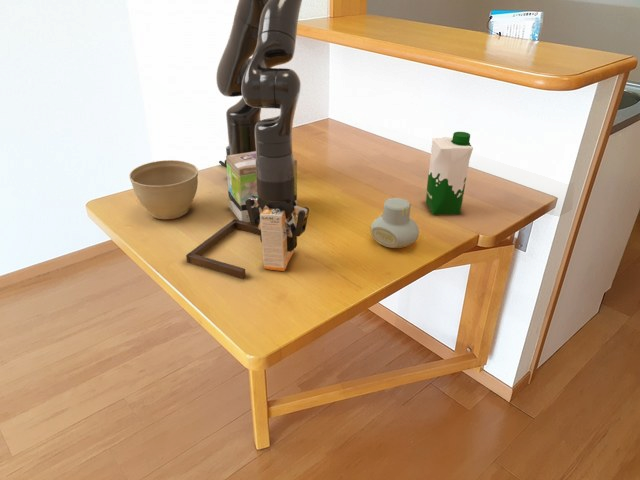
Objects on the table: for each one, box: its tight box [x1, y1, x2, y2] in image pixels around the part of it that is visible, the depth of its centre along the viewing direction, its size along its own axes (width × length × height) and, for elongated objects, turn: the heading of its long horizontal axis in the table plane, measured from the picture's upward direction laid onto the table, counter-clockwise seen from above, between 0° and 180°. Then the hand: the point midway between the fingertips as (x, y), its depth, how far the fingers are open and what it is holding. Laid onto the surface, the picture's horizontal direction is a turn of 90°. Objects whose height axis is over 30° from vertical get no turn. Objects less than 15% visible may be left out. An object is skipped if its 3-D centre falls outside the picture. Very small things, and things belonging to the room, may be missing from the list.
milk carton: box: [425, 131, 474, 216], centre depth 128 cm, size 9×9×20 cm
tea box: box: [225, 151, 298, 223], centre depth 128 cm, size 15×10×15 cm, turn 117°
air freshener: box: [370, 197, 420, 249], centre depth 116 cm, size 11×8×10 cm
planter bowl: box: [129, 159, 199, 220], centre depth 128 cm, size 16×16×11 cm
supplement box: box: [260, 208, 295, 272], centre depth 108 cm, size 8×5×13 cm, turn 168°
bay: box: [185, 218, 260, 280], centre depth 114 cm, size 14×18×2 cm
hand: (278, 246), depth 109 cm, fingers closed on supplement box, 5 cm apart
